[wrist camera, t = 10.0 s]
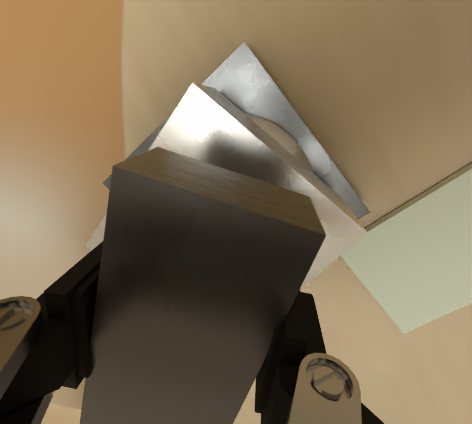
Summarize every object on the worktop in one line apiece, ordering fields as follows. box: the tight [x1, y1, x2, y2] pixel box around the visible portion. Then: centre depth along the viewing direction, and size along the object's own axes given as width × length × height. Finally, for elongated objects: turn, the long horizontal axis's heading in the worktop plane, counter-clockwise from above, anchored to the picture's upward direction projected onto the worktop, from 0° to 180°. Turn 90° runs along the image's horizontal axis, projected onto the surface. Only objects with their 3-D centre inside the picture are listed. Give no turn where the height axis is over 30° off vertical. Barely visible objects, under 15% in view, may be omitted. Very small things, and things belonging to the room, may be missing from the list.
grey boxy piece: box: [85, 83, 368, 290], centre depth 16 cm, size 11×11×6 cm
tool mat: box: [341, 163, 472, 334], centre depth 21 cm, size 12×10×1 cm
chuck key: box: [80, 147, 326, 424], centre depth 12 cm, size 9×4×9 cm, turn 163°
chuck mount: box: [103, 42, 370, 220], centre depth 20 cm, size 13×13×2 cm
